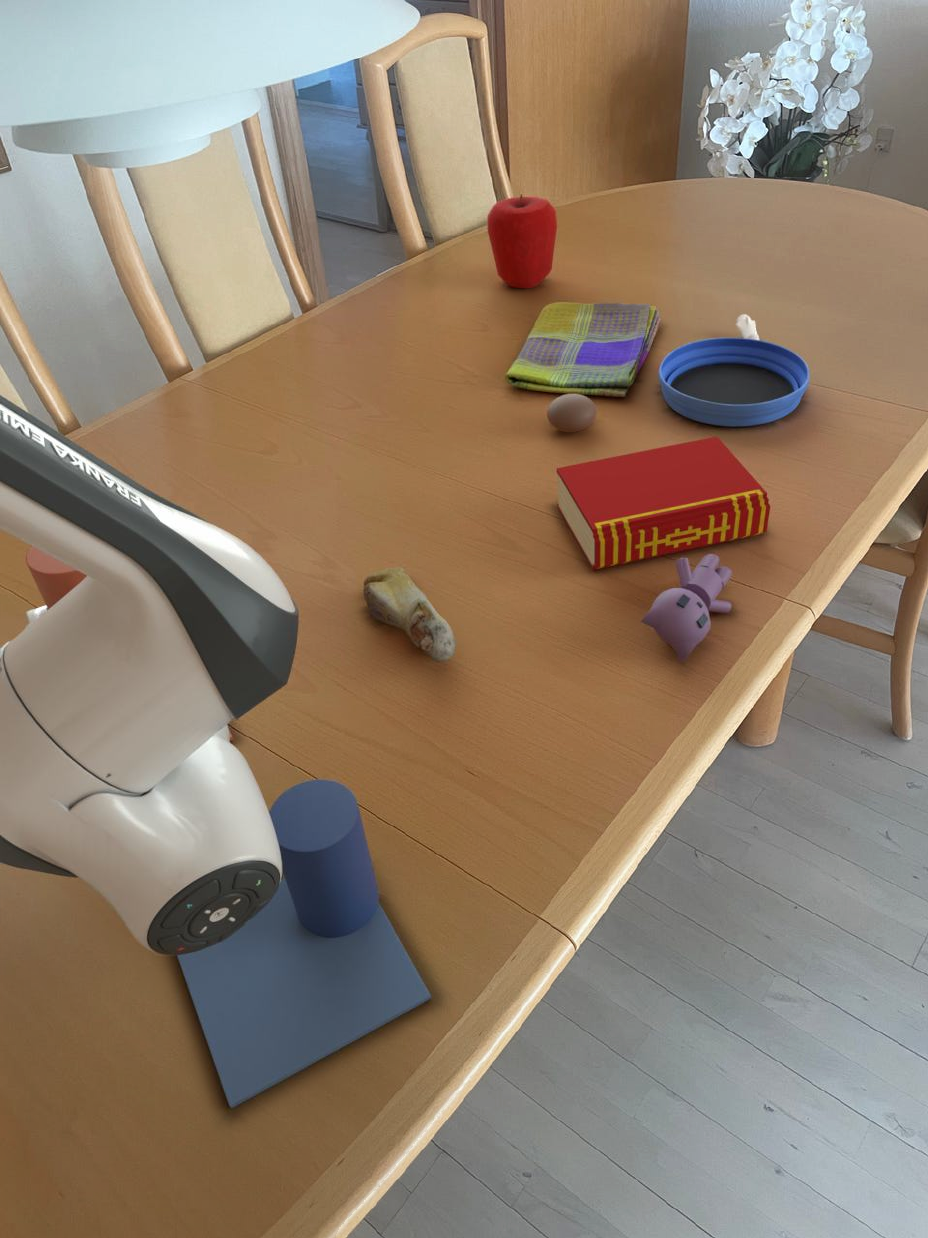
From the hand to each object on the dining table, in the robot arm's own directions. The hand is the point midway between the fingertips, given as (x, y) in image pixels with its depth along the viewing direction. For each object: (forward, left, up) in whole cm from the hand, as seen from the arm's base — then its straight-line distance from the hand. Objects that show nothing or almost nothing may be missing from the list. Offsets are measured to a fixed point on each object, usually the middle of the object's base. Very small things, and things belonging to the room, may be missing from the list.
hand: (92, 596), depth 68 cm
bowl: (+79, +24, -20) cm, 85 cm away
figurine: (+47, -8, -20) cm, 52 cm away
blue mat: (+3, -21, -20) cm, 29 cm away
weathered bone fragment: (+25, +6, -20) cm, 33 cm away
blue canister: (+7, -18, -19) cm, 28 cm away
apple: (+78, +72, -20) cm, 108 cm away
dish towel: (+71, +45, -20) cm, 86 cm away
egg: (+59, +29, -20) cm, 68 cm away
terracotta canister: (0, -1, -5) cm, 5 cm away
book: (+55, +7, -20) cm, 59 cm away
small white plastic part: (+91, +34, -20) cm, 99 cm away
